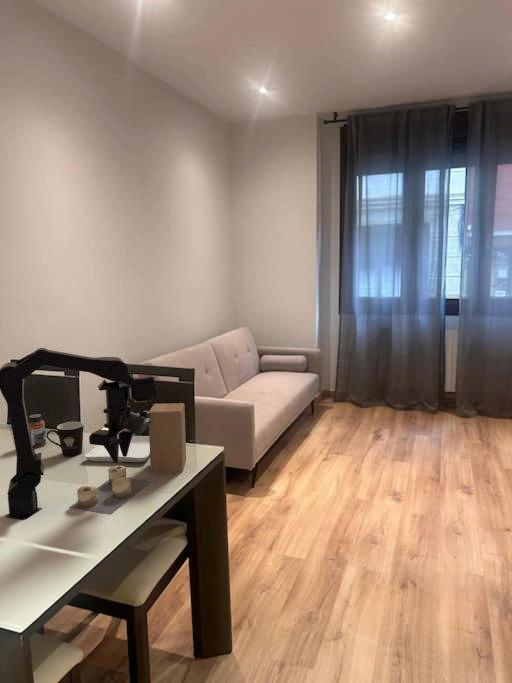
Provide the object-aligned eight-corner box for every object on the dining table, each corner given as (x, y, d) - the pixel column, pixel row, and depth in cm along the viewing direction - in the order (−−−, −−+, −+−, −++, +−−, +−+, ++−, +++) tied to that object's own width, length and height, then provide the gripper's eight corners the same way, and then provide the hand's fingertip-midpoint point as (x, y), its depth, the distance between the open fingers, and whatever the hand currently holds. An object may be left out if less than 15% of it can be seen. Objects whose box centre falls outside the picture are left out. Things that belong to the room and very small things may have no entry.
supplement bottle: (28, 444, 178) (25, 414, 176) (45, 441, 181) (43, 412, 179) (28, 449, 173) (25, 418, 171) (46, 446, 175) (44, 416, 174)
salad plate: (109, 443, 179) (108, 434, 179) (165, 444, 177) (164, 435, 177) (83, 466, 158) (82, 456, 158) (146, 467, 156) (146, 457, 156)
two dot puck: (120, 486, 140) (119, 472, 140) (105, 484, 142) (104, 470, 141) (129, 479, 145) (129, 466, 145) (115, 477, 147) (114, 464, 146)
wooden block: (186, 461, 160) (184, 402, 157) (182, 474, 150) (180, 411, 147) (156, 462, 160) (153, 403, 157) (150, 474, 150) (147, 412, 147)
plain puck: (124, 500, 132) (124, 486, 131) (109, 497, 134) (108, 483, 133) (134, 492, 137) (134, 478, 136) (119, 489, 138) (118, 476, 138)
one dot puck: (90, 509, 127) (89, 493, 127) (74, 506, 129) (73, 491, 128) (101, 500, 132) (100, 485, 131) (86, 498, 133) (85, 483, 133)
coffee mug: (90, 450, 172) (88, 422, 170) (75, 459, 163) (73, 430, 162) (62, 447, 175) (60, 420, 173) (46, 455, 166) (43, 427, 165)
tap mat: (111, 516, 124) (110, 514, 124) (68, 509, 128) (68, 507, 128) (152, 482, 144) (152, 481, 144) (114, 477, 148) (114, 475, 148)
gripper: (124, 416, 120) (127, 476, 122) (160, 397, 138) (162, 450, 140) (86, 412, 124) (89, 471, 126) (126, 395, 141) (129, 446, 143)
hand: (120, 459), depth 134 cm, fingers open, 4 cm apart
